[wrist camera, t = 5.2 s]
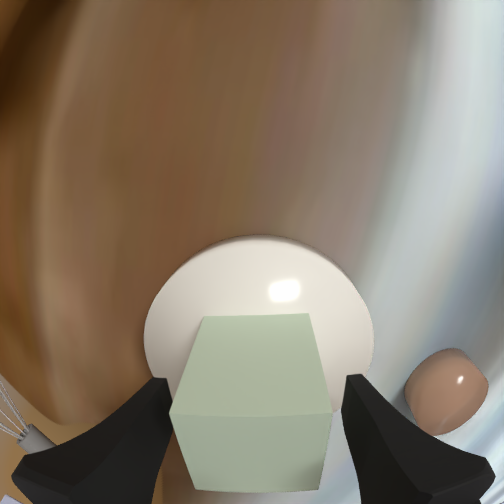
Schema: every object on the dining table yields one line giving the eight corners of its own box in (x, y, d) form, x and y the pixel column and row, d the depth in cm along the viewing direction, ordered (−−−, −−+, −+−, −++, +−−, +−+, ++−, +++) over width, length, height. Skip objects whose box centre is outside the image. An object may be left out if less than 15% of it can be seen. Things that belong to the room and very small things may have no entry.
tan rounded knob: (477, 345, 16) (500, 370, 13) (450, 402, 18) (467, 429, 15) (418, 348, 16) (438, 378, 13) (393, 409, 18) (406, 440, 15)
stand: (382, 245, 14) (398, 258, 12) (338, 413, 18) (343, 436, 16) (152, 225, 15) (137, 235, 13) (163, 400, 18) (155, 421, 16)
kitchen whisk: (140, 515, 25) (127, 555, 19) (-72, 282, 18) (-113, 306, 11) (177, 512, 23) (166, 559, 17) (-60, 249, 16) (-110, 273, 10)
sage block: (308, 312, 13) (332, 412, 8) (305, 390, 15) (318, 489, 9) (204, 315, 14) (169, 413, 8) (215, 392, 15) (195, 489, 9)
